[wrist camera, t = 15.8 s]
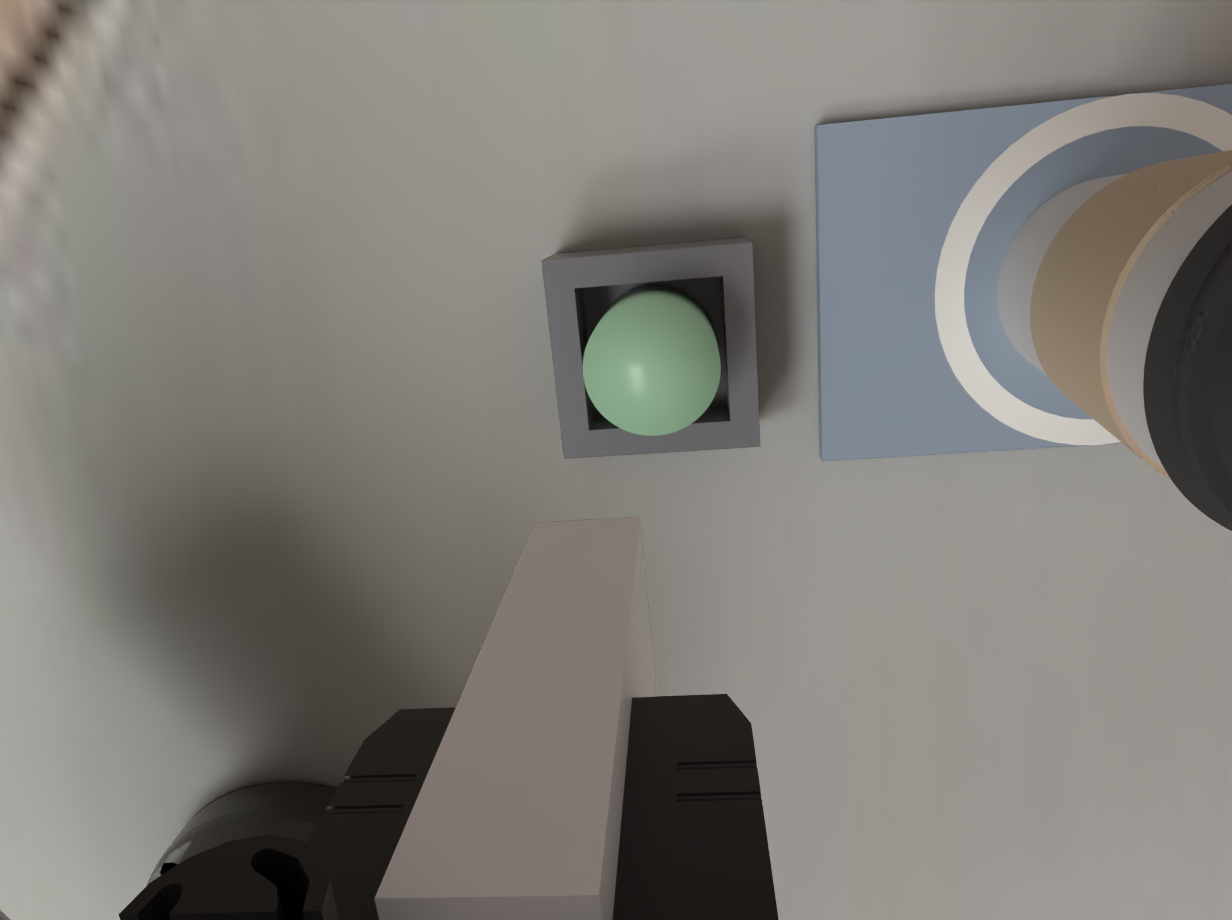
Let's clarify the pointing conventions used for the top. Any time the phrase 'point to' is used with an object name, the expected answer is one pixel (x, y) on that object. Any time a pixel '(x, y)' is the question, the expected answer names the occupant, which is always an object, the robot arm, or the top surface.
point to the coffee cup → (1137, 313)
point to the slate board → (962, 262)
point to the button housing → (695, 268)
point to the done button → (652, 361)
